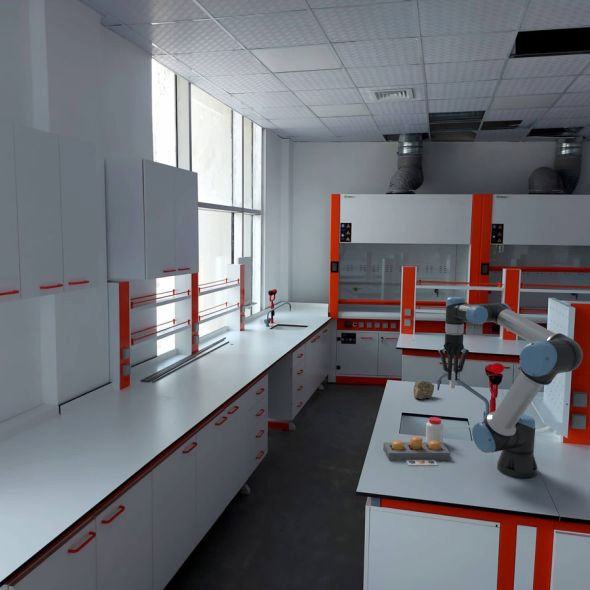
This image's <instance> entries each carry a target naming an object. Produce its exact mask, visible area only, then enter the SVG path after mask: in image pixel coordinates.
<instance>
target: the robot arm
mask: <svg viewBox="0 0 590 590" xmlns="http://www.w3.org/2000/svg"><path fill="white" fill-rule="evenodd" d="M445 303H446V304H445V327H444V328H445V331H444V332H445V333H444V345H443V346H442V347H441V348H438V349H437V351H438V353H439V354H440V360H441V363H442V364H441V365H442V370H443V371H444V372H446V373H447V381H449V388H450V389H455V388H456V381H458V374H459V373H461V372H463V369H464V366H465V362H466V358H467V356H468V354H469V353H470V350H469V349H467V348H466V347H465V346H464V332H465V330H464V329H465V328H464V327H465V325H464V324H465V323H467V324H468V323H469V324H472V325H483V324H484V323H492V322H493V323H494V324H496V325H499V326H501V327H502V328H504V329H506V330H507V331H509V332H511V333H513V334H515V335H517V336H518V337H519V338H521V339H523V340H525V341H526V342H528V344H526V345H524V347H523V348H522V349H521V351H520V354H519V359H520V360H519V370H520V372H519V373H518V376H517V377H516V379H515V381H514V382H513V383H512V384H511V386H510V388H509V389H508V391H507V392H506V394H505V396H504V397H503V399H502V400H501V402H500V404H498V406H497V408H496V409H495V411H490V412H489V413H488V414H487V415H486V417H485V418H484V420H483V421H481V422H480V421H479V422H476V423H475V424H474V425H473V427H472V430H471V433H472V434H471V436H472V440H473V442H474V444H475V446H476V447H477V449H479V450H480V451H481V452H482V453H484V454H489V453H491V454H493V453H497V452H500V456H499V458H498V460H497V464H496V468H497V471H499V472H500V473H502V474H504V475H506V476H509V477H513V478H518V479H519V478H520V479H530V478H535V477H536V476H537V475H538V465H537V462H536V458H535V455H534V453H535V452H534V451H535V438H536V437H535V436H536V429H537V427H536V421H535V419H534V418H533V417H531V416H529V415H527V414H525V412H526V410H527V409H528V407H530V406H531V403H532V402H533V400H535V398H536V396H537V395H538V393H539V392H540V391H541V390H542V388H543V386H548V385H550V384H551V383H552V382H553V381H554V379H555V377H556V376H557V375H558V374H562V373H563V374H564V373H569V372H572V371H574V370H576V369H577V368H578V367H580V365H581V364H582V360H583V356H584V355H583V349H582V348H581V346H580V344H579V343H578V342H577V341H575V339H573V338H571V337H569V336H568V335H565V334H563V333H562V332H558V333H555V332H553V331H551V330H549V329H548V328H545V327H544V326H542V325H539V324H538V323H536V322H534V321H532V320H530V319H528V318H526V317H524V316H523V315H521V314H518V313H516V312H515V311H513V310H512V308H511V307H510V306H509V305H508V304H507V303H502V302H495V303H479V304H478V303H477V304H473V303H472V304H471V303H466V299H465V298H464V297H461V296H448V297H447V298H446V302H445ZM445 352H446V353H447V359H446V355H445ZM460 354H461V356H460ZM459 359H460V360H459Z"/></svg>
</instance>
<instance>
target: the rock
mask: <svg viewBox="0 0 590 590" xmlns="http://www.w3.org/2000/svg"><path fill="white" fill-rule="evenodd" d="M434 390H435V384H434V383H432V382H430V381H424V380H422V381H415V383H414V385H413V392H412V393H413V397H414V398H416V399H418V400H422V399H426V398H427V399H429V398H430V399H431V398H432V396H433V394H434Z"/></svg>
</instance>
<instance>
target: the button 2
mask: <svg viewBox="0 0 590 590" xmlns="http://www.w3.org/2000/svg"><path fill="white" fill-rule="evenodd" d="M440 445H441V443H440V442H438V441H429V447H428V449H429V450H440Z"/></svg>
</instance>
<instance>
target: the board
mask: <svg viewBox="0 0 590 590" xmlns="http://www.w3.org/2000/svg"><path fill="white" fill-rule="evenodd" d="M392 442H393V441H392ZM392 442H389V441H387V442H383V451H384V454H385V455H386V458H387V459H388V461H406V460H435V461H437V460H439V461H441V460H442V461H444V460H445V461H446V460H447V461H450V460H451V452H450V450H449V449H448V448H447V447H446V446H445V444H444V442H443V443H442V442H440V443H441V445H440V450H429V449H428V447H429V442H426V441H425V442H424V441H422V450H411V449H410V441H408V442H404V441H402V442H403V443H404V450H392Z"/></svg>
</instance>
